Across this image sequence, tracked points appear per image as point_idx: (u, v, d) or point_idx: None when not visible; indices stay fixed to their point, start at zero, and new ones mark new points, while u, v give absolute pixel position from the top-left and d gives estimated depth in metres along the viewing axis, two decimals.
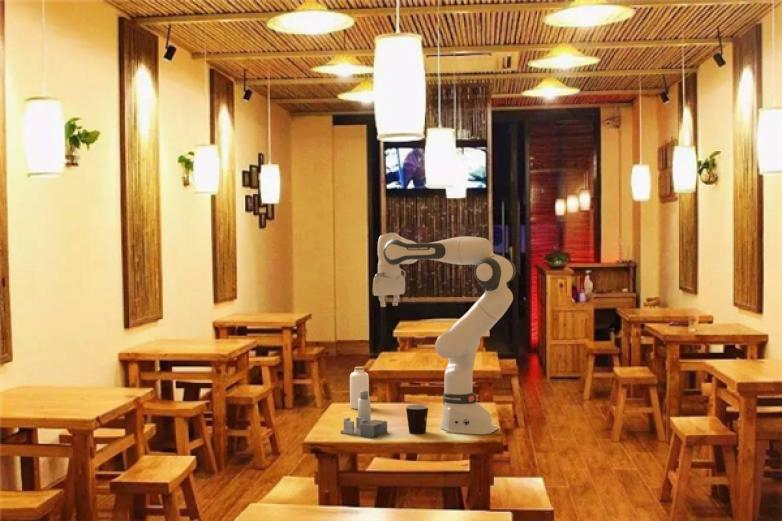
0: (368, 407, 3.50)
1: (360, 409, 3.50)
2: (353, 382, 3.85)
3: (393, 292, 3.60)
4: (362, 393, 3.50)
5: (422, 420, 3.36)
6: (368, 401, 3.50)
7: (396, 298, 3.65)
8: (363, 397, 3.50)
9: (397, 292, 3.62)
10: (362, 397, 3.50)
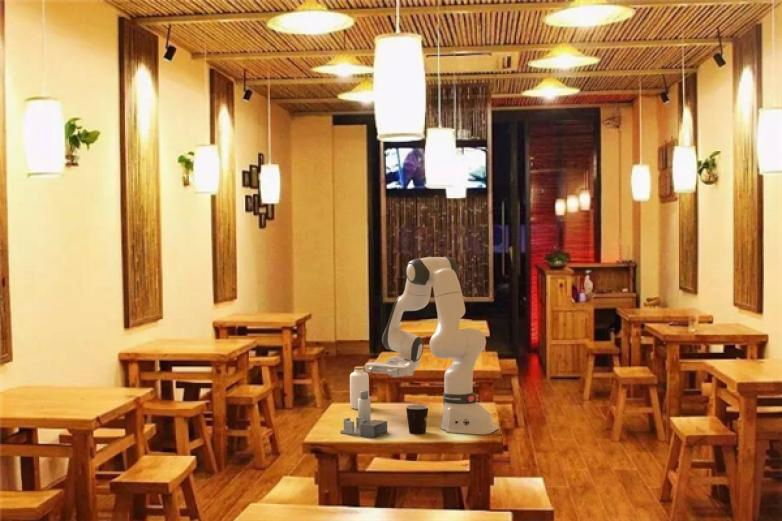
0: (368, 407, 3.50)
1: (360, 409, 3.50)
2: (353, 382, 3.85)
3: (386, 365, 3.66)
4: (362, 393, 3.50)
5: (422, 420, 3.36)
6: (368, 401, 3.50)
7: None
8: (363, 397, 3.50)
9: (392, 365, 3.65)
10: (362, 397, 3.50)
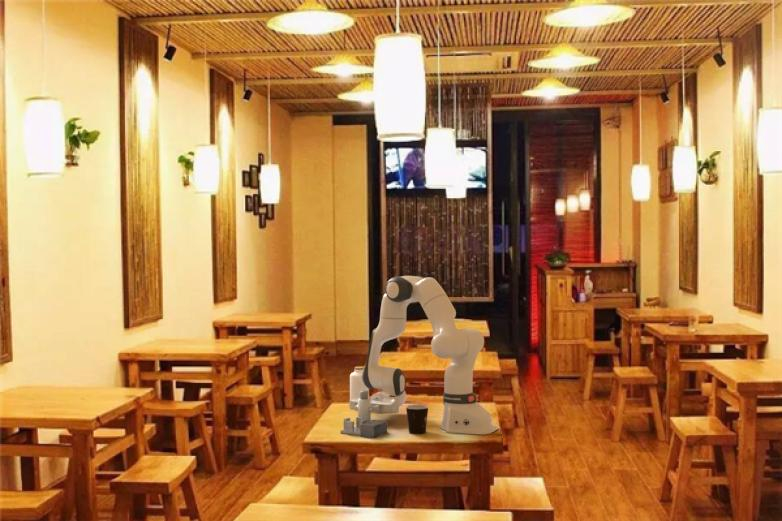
0: (368, 407, 3.50)
1: (360, 409, 3.50)
2: (353, 382, 3.85)
3: (371, 402, 3.55)
4: (362, 393, 3.50)
5: (422, 420, 3.36)
6: (368, 401, 3.50)
7: None
8: (363, 397, 3.50)
9: (377, 402, 3.54)
10: (362, 397, 3.50)
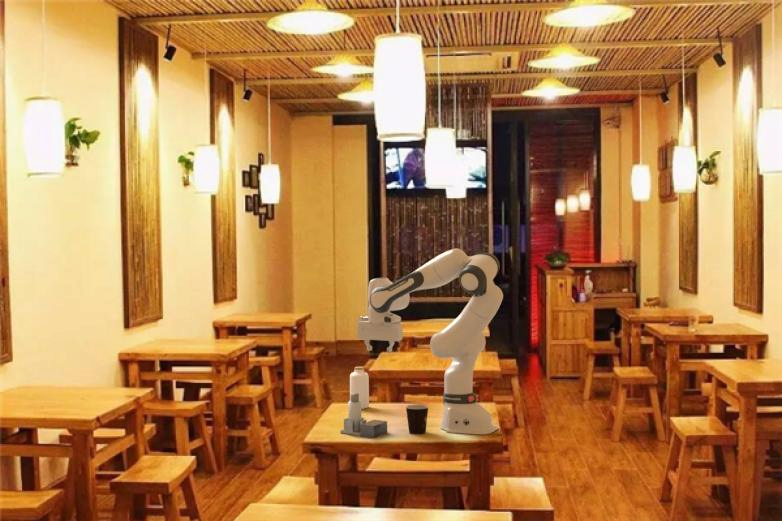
0: (359, 410, 3.39)
1: (350, 412, 3.39)
2: (353, 382, 3.85)
3: (378, 337, 3.56)
4: (352, 396, 3.39)
5: (422, 420, 3.36)
6: (359, 404, 3.39)
7: None
8: (354, 400, 3.39)
9: (384, 338, 3.54)
10: (352, 400, 3.39)
